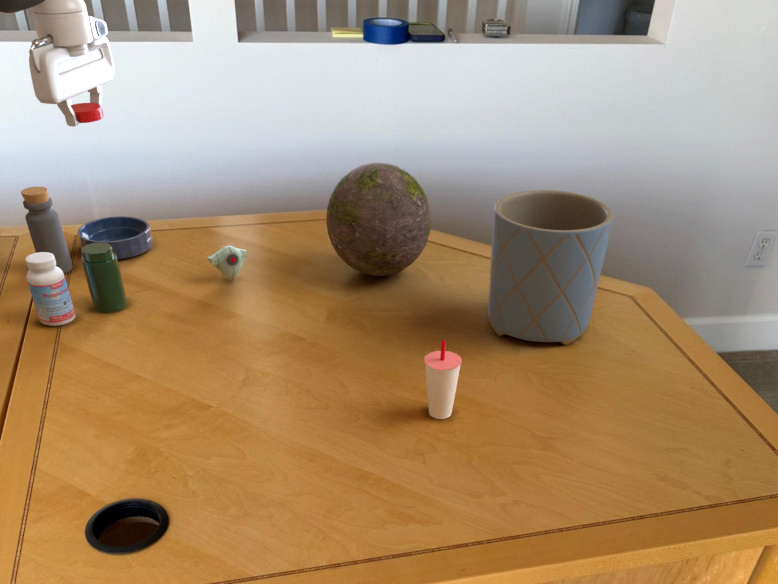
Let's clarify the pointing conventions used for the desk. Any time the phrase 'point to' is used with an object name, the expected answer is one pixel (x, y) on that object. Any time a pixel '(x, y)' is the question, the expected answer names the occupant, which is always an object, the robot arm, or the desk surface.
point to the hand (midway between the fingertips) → (85, 119)
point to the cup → (441, 381)
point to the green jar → (103, 278)
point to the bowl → (118, 235)
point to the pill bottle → (49, 290)
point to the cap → (88, 112)
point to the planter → (546, 264)
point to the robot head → (228, 261)
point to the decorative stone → (378, 219)
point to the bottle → (45, 226)
